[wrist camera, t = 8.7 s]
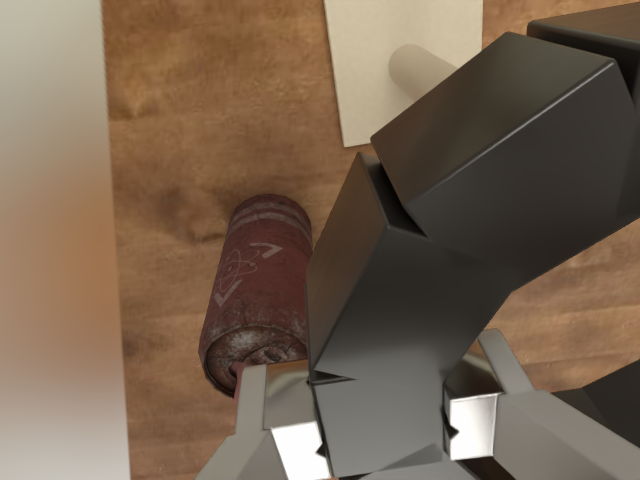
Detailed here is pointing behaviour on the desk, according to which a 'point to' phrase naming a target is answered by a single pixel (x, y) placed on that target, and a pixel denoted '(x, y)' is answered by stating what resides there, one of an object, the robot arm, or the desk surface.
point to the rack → (395, 55)
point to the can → (257, 292)
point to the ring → (470, 237)
